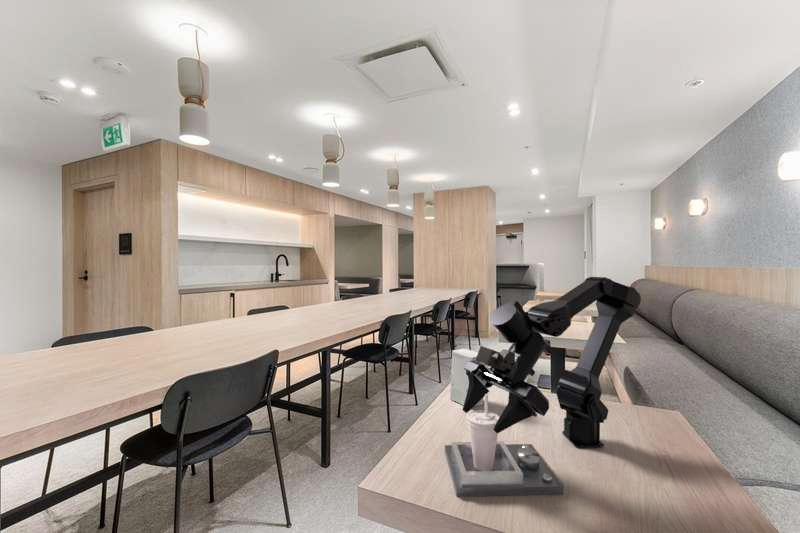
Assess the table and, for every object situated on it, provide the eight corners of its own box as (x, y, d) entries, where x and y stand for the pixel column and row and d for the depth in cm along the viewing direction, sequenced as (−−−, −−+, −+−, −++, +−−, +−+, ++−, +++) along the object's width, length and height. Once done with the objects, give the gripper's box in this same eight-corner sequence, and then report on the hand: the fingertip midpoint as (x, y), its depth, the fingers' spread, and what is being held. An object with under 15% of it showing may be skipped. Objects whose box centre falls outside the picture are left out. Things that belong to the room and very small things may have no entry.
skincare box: (449, 400, 102) (449, 350, 102) (463, 395, 106) (463, 347, 106) (471, 409, 96) (471, 356, 95) (485, 404, 99) (485, 353, 99)
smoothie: (507, 472, 65) (507, 399, 65) (476, 478, 63) (476, 403, 63) (489, 454, 71) (490, 387, 71) (461, 459, 69) (461, 390, 69)
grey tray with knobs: (531, 450, 75) (531, 435, 75) (563, 494, 61) (563, 475, 61) (444, 452, 75) (444, 436, 75) (456, 496, 61) (456, 476, 61)
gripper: (471, 323, 76) (428, 380, 72) (538, 341, 60) (488, 417, 55) (498, 354, 80) (459, 410, 75) (568, 379, 63) (524, 453, 59)
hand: (478, 420), depth 66 cm, fingers open, 9 cm apart
